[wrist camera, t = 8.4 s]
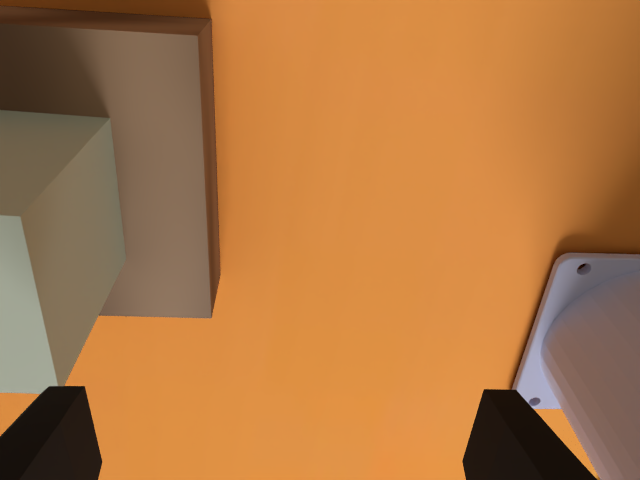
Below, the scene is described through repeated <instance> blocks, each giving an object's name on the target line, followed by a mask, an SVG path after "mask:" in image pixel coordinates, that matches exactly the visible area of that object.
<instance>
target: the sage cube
mask: <svg viewBox="0 0 640 480" xmlns="http://www.w3.org/2000/svg"><path fill="white" fill-rule="evenodd" d="M125 260H126V254H125V245H124V236H123V227H122V218H121V210H120V201H119V192H118V183H117V175H116V166H115V157H114V148H113V139H112V131H111V122H110V118H103V117H89V116H75V115H61V114H48V113H34V112H20V111H7V110H0V392H1V393H34V394H41V393H42V392H43V391H44V390H45V389H46V388H48V387H49V386H64V385H65V383H66V381H67V379H68V377H69V375H70V373H71V371H72V369H73V366H74V364H75V362H76V360H77V358H78V356H79V354H80V352H81V350H82V348H83V346H84V344H85V342H86V340H87V338H88V336H89V334H90V332H91V330H92V328H93V326H94V324H95V322H96V320H97V317H98V315H99V313H100V311H101V309H102V307H103V305H104V303H105V301H106V299H107V297H108V295H109V293H110V291H111V289H112V287H113V285H114V283H115V281H116V279H117V277H118V275H119V273H120V271H121V268H122V266H123V264H124V262H125Z"/></svg>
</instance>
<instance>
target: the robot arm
mask: <svg viewBox="0 0 640 480" xmlns="http://www.w3.org/2000/svg"><path fill="white" fill-rule="evenodd" d="M585 263H586V264H585ZM582 264H585V266H584V267H582V268H581V269H578V267H579V266H580V265H582ZM534 409H562V410H563V412H564V414H565V416H566V418H567V419H568V421H569V423H570V425H571V427H572V428H573V430H574V432H575V434H576V436H577V438H578V439H579V441H580V443H581V445H582V447H583V449H584V450H585V452H586V454H587V456H588V458H589V459H590V461H591V463H592V465H593V467H594V469H595V470H596V472H597V474H598V476H599V478H600V479H601V480H640V254H605V253H565V254H563V255H561V256H560V257H559V258H557V259H556V261H555V263H554V265H553V268H552V271H551V274H550V277H549V280H548V283H547V286H546V289H545V292H544V295H543V298H542V301H541V304H540V307H539V310H538V313H537V316H536V319H535V322H534V325H533V328H532V331H531V334H530V337H529V340H528V343H527V346H526V348H525V351H524V354H523V357H522V360H521V363H520V366H519V369H518V372H517V375H516V378H515V381H514V384H513V387H512V390H493V389H484V391H483V394H482V398H481V401H480V404H479V408H478V411H477V414H476V418H475V421H474V424H473V428H472V431H471V434H470V438H469V441H468V444H467V448H466V451H465V454H464V458H463V466H464V471H465V476H466V480H597V479H596V478H595V477H594V476H593V475H592V474H591V473H590V472H589V470H588V469H587V468H586V467H585V466H584V465H583V464H582V463H581V462H580V461H579V460H578V458H577V457H576V456H575V455H574V454H573V453H572V452H571V451H570V450H569V448H568V447H567V446H566V445H565V444H564V443H563V442H562V441H561V440H560V438H559V437H558V436H557V435H556V434H555V433H554V432H553V431H552V429H551V428H550V427H549V426H548V425H547V424H546V423H545V422H544V420H543V419H542V418H541V417H540V416H539V415H538V414H537V413H536V411H535V410H534ZM101 465H102V459H101V454H100V450H99V446H98V441H97V437H96V433H95V429H94V424H93V420H92V416H91V411H90V407H89V403H88V399H87V394H86V390H85V386H49V387H48V388H46V389H45V390H44V391H43V392H42V393H41V394H40V395H39V396H38V397H37V398H36V399H35V400H34V401H33V402H32V404H31V405H30V406H29V407H28V408H27V409H26V410H25V411H24V412H23V413H22V414H21V415H20V416H19V417H18V418H17V419H16V420H15V421H14V423H13V424H12V425H11V426H10V427H9V428H8V429H7V430H6V431H5V432H4V433H3V434H2V435H1V436H0V480H98V477H99V473H100V469H101Z"/></svg>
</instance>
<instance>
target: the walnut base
mask: <svg viewBox="0 0 640 480" xmlns="http://www.w3.org/2000/svg"><path fill="white" fill-rule="evenodd" d="M0 110H7V111H20V112H34V113H48V114H61V115H75V116H89V117H103V118H110V122H111V131H112V139H113V148H114V157H115V166H116V175H117V183H118V192H119V201H120V210H121V218H122V227H123V236H124V245H125V254H126V260H125V262H124V264H123V266H122V268H121V271H120V273H119V275H118V277H117V279H116V281H115V283H114V285H113V287H112V289H111V291H110V293H109V295H108V297H107V299H106V301H105V303H104V305H103V307H102V309H101V311H100V313H99V315H102V316H141V317H180V318H212V313H213V308H214V303H215V299H216V294H217V289H218V284H219V279H220V249H219V220H218V192H217V163H216V135H215V106H214V78H213V49H212V20H211V19H206V18H190V17H174V16H158V15H142V14H126V13H110V12H95V11H79V10H63V9H47V8H31V7H15V6H0Z"/></svg>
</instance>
